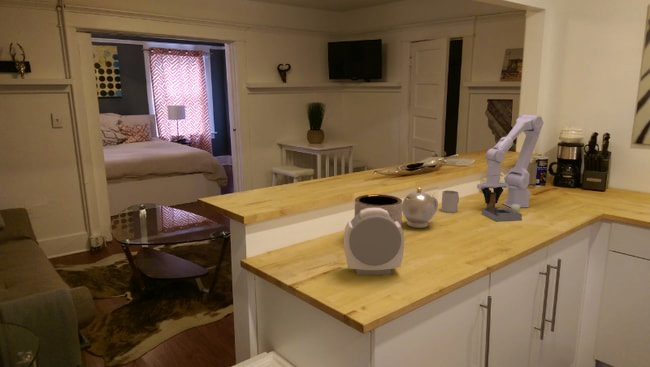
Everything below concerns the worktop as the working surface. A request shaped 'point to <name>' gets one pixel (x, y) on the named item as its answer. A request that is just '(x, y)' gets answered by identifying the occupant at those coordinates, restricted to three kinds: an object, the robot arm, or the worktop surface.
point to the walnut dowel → (492, 200)
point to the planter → (381, 205)
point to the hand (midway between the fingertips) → (491, 203)
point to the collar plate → (501, 214)
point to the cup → (450, 201)
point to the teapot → (419, 208)
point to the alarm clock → (373, 242)
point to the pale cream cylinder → (515, 208)
